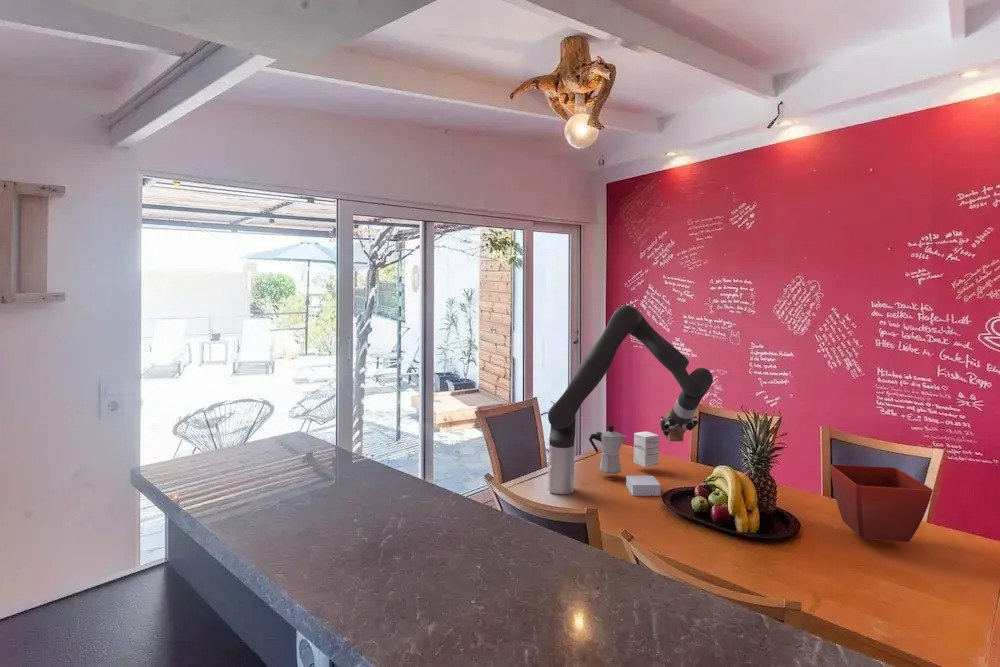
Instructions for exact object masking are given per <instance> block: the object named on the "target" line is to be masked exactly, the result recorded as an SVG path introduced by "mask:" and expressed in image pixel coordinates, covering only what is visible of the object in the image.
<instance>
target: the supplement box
mask: <svg viewBox="0 0 1000 667" xmlns="http://www.w3.org/2000/svg"><path fill="white" fill-rule="evenodd" d="M633 435H634V436H633V463H634V464H637V465H639V466H642V467H643V468H651V467H655V466H659V456H660V454H659V451H660V434H656V433H653V432H651V431H639V432H634V434H633Z"/></svg>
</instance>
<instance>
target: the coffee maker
mask: <svg viewBox="0 0 1000 667" xmlns="http://www.w3.org/2000/svg"><path fill="white" fill-rule="evenodd" d="M614 427H615V426H614V425H613V424H612V425H611V424H610V425H609V424H608V425H607V431H602V432H600V431H597V432H596V433H592V434H590V436H589V438H588V441H589V442H590V444H591V446H592V447H593V449H594V450H595V452H596V453H598V452H599V449H598V447H597V445H596V444H595V443H594V441H593V440H596V441H598V442H600V447H601V451H602V453H601V459H600V464H599V470H600V472H601V473H605V474H613V475H616V474H619V473H622V466H621V460H620V454H619V452H620V450H621V447H622V446H621V445H622V444H623V443H624V442H625V441H624V440H625V439H626V438H627V437H628V436H627V435H623V434H622V433H619V432H618V431H617V432H616V431H614V429H615V428H614Z"/></svg>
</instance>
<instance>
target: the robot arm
mask: <svg viewBox="0 0 1000 667" xmlns="http://www.w3.org/2000/svg"><path fill="white" fill-rule="evenodd" d="M629 335H631V336H632V337H634V338H635V339H637V340H638V341H639V342H641V343H642V344H643V345H644V347H646V348H647V349H648V351H649V352H650V353H651V354H652V355H653V357H654V358H656V360H657V361H658V362H659V363H660V364H661V365H662V366H664V368H666V369H667V370H668V371H669V372H670V373H671V374H672V376H673V377H674V379H675V380H676V381H677V383H678V385H679V387H680V388H681V389H682V390H681V391H680V393H679V395H678V397H677V399H676V400H675V403H674V404H673V406H672V411H671V414H670V416H669V417H668V418H666V417H665V418H664V416H660V417H659V425H660V430H661V431H662V433H663V435H664V436H665V437H666V436H667V435H668V433H669V430H671V429H673V428H675V427H676V426H680V427H683V430H684V432H683V435H684V434H685V432H687V431H693V429H694V428H695V427H696V426H697V425H699V420H698V417H697V416H695V415H696V414H697V410H698V407H699V405H700V403H701V401H702V400H703V397H704V396H705V395H706V394H707V392H708V391H709V389H710V387H711V386H712V385H713V383H714V382H713V380H714V377H713V374H712V372H711V371H710V370H709V369H707V368H705V367H698V368H696V369H694V370H693V371H692V372H690V373H688V371H687V368H688V366H689V364H690V360H689V359H688V358H687V357H686V356H685V355H684V354H683V353H682V352H681V351H680V350H678V349H677V348H676V347H675V346H673V344H672V343H670V342H669V341H668V340H666V339H665V338H664V337H663V336H662V335H661V334H660V333H658V332H657V330H656V329H654V328H653V327H652V326H651V325H650V324H649V322H648V321H647V319H646V318H645V317H644V316H643V314H642V313H641V311H640V310H639V309H638V308H637V307H634V306H632V305H629V304H628V305H627V304H625V305H620V306H619V307H617V308H616V309H615V310H614V312H613V313H612V315H611V317H610V319H609V320H608V322H607V325H606V326H605V329H604V331H603V332H602V334H601V335H600V337H599V338H598V339H597V340H596V342H595V343H594V344H593V345H592V346H591V348H590V350H588V353H587V354H586V355H585V356H584V358H583V359H582V361H581V362H580V364H579V366H578V367H577V369H576V370H575V373H574V374H573V376H572V378H571V380H570V382H569V384H568V386H567V388H566V389H565V391H564V392H563V393H562V395H561V396H560V397H559V398H558V399H557V401H556V402H555V403H553V404H552V406H550V408H549V410H548V414H547V418H548V423H549V424H550V432H549V438H548V443H549V444H548V451H549V452H548V461H549V462H548V472H547V473H548V474H547V475H548V477H547V478H548V483H547V484H548V486H547V488H548V490H549V491H548V492H549V493H550V494H555V495H570V494H573V493H574V491H575V440H576V419H577V418H576V415H577V413H578V411H579V409H580V407H581V406H582V404H583V402H584V401H585V400H586V398H588V397H589V395H590V394H591V393H592V392H593V391H594V390H595V389H596V387H597V386H598V385H599V383H601V381H602V379H603V378H604V377H605V375H606V374H607V373H608V371H609V370H610V368H611V366H612V363H613V360H614V359H615V356H616V355H617V354H616V353H617V351H618V349H619V347H620V346H621V344H622V343H623V341H624V340H625V339H626V338H627V336H629ZM668 426H669V427H668Z"/></svg>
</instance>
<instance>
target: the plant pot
mask: <svg viewBox="0 0 1000 667" xmlns="http://www.w3.org/2000/svg"><path fill="white" fill-rule="evenodd" d="M829 468H830V476H831V482H832V487H833V493H834V496H835V502H836V504H837V507H838V511H839V514H840V517H841V519H842V522H843V523H845V524H846V525H847V526H848V528H849V529H850V530H852V532H853V533H854V534H856V535H857V536H858V537H859V539H864V540H874V541H884V542H885V541H886V542H898V543H899V542H901V543H909V542H911V540H912V539H913V537H914V536H915V534H916V532H917V530H918V528H919V527H920V524H921V523H922V521H923V519H924V516H925V514H926V512H927V510H928V506H929V504H930V501H931V499H932V494H933V490H934V489H933V488H931V487H930V486H927V484H924V483H922V482H921V481H920V480H918V479H916V478H914V477H913V476H911V475H909V474H908V473H906V472H905V471H903V470H901V469H899V467H891V466H890V467H889V466H871V465H854V464H853V465H852V464H835V463H833V464H830V467H829Z"/></svg>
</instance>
